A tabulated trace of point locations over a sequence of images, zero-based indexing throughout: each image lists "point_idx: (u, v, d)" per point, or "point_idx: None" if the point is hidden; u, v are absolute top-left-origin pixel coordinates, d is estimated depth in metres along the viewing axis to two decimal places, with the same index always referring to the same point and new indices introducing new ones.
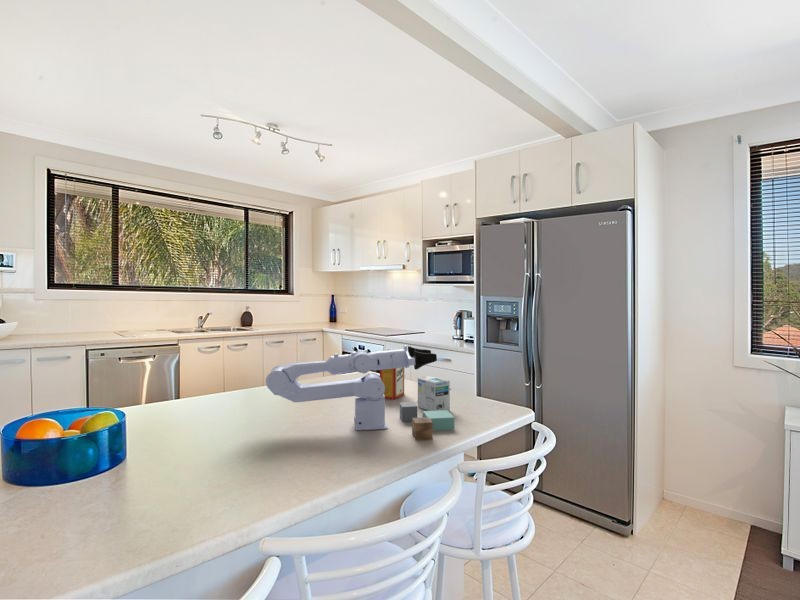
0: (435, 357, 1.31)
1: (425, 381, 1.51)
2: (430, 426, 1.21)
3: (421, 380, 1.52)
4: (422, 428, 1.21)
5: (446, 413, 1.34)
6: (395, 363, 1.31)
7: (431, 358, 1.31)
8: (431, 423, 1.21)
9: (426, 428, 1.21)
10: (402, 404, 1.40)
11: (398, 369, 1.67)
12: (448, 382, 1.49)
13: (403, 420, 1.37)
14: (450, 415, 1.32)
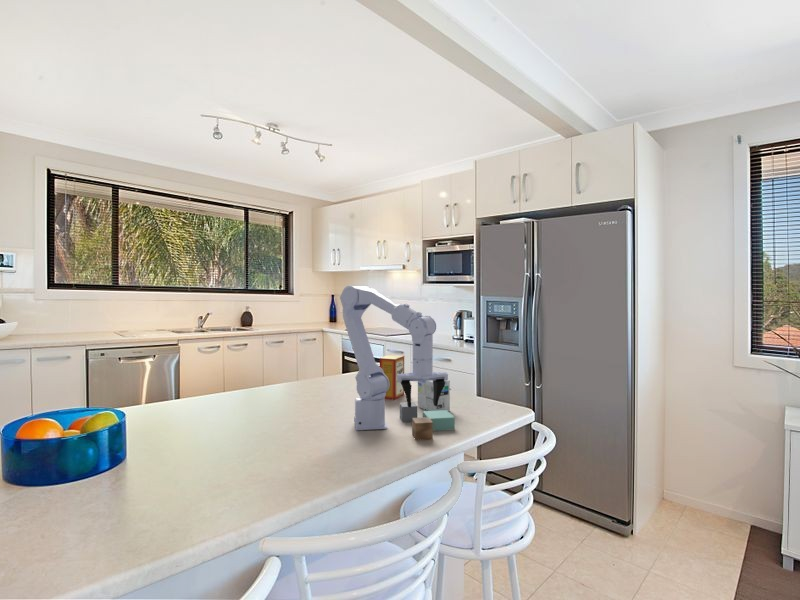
0: (408, 405, 1.22)
1: (425, 381, 1.51)
2: (430, 426, 1.21)
3: None
4: (422, 428, 1.21)
5: (445, 413, 1.34)
6: None
7: (407, 400, 1.22)
8: (431, 423, 1.21)
9: (427, 428, 1.21)
10: (402, 404, 1.40)
11: (398, 369, 1.67)
12: (448, 382, 1.49)
13: (403, 420, 1.37)
14: (450, 414, 1.32)
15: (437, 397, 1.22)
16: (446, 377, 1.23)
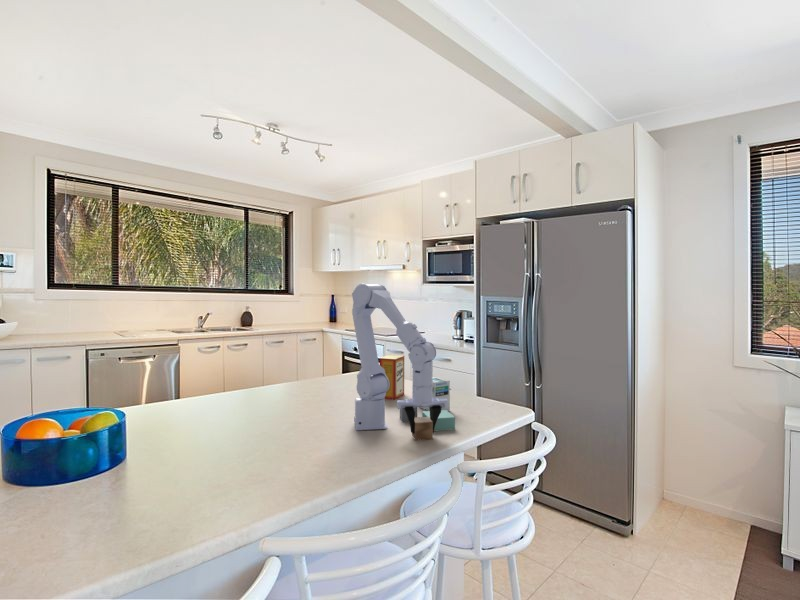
0: (411, 431, 1.23)
1: None
2: (430, 426, 1.21)
3: None
4: (422, 428, 1.21)
5: (445, 413, 1.34)
6: None
7: (410, 426, 1.23)
8: (431, 423, 1.21)
9: (426, 427, 1.21)
10: None
11: (398, 369, 1.67)
12: (448, 382, 1.49)
13: (403, 420, 1.37)
14: (450, 414, 1.32)
15: (433, 424, 1.22)
16: (446, 403, 1.23)
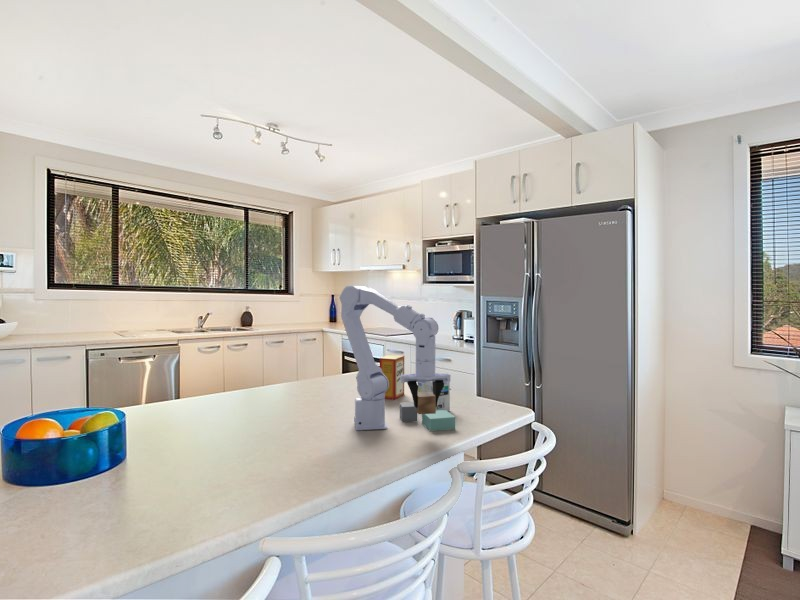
0: (414, 405, 1.24)
1: None
2: (433, 400, 1.22)
3: None
4: (425, 402, 1.22)
5: (445, 413, 1.34)
6: None
7: (414, 400, 1.24)
8: (434, 397, 1.22)
9: (429, 401, 1.22)
10: (402, 404, 1.40)
11: (398, 369, 1.67)
12: (448, 382, 1.49)
13: (403, 420, 1.37)
14: (450, 414, 1.33)
15: (436, 398, 1.24)
16: (449, 378, 1.24)
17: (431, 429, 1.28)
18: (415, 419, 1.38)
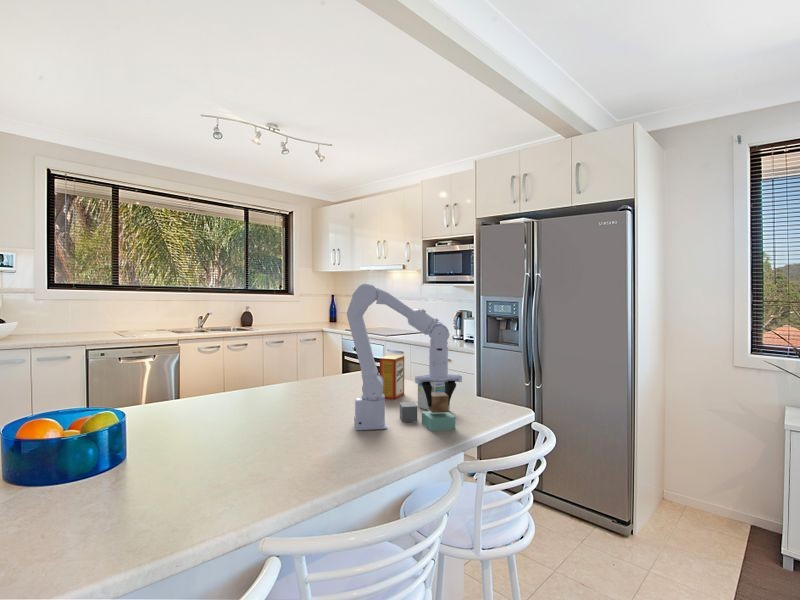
0: (428, 404, 1.32)
1: None
2: (446, 399, 1.31)
3: None
4: (439, 401, 1.30)
5: (445, 413, 1.34)
6: None
7: (427, 400, 1.33)
8: (447, 396, 1.31)
9: (443, 401, 1.30)
10: (402, 404, 1.40)
11: (398, 369, 1.67)
12: None
13: (403, 420, 1.37)
14: (450, 414, 1.33)
15: (449, 397, 1.32)
16: (460, 379, 1.33)
17: (431, 429, 1.28)
18: (415, 419, 1.38)
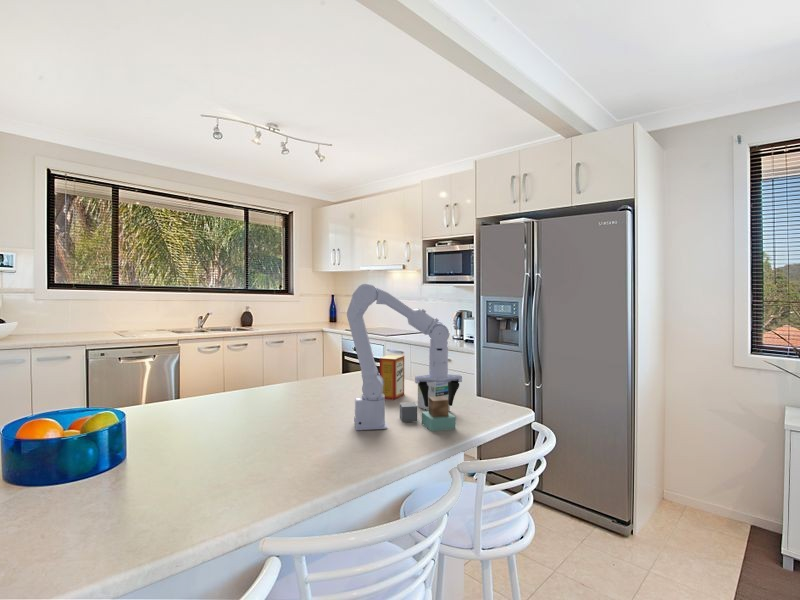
0: (425, 404, 1.32)
1: None
2: (446, 403, 1.31)
3: None
4: (439, 406, 1.30)
5: None
6: None
7: (424, 400, 1.32)
8: (447, 401, 1.31)
9: (443, 405, 1.31)
10: (402, 404, 1.40)
11: (398, 369, 1.67)
12: None
13: (403, 420, 1.37)
14: (450, 414, 1.33)
15: (452, 397, 1.32)
16: (460, 379, 1.33)
17: (432, 429, 1.28)
18: (415, 419, 1.38)
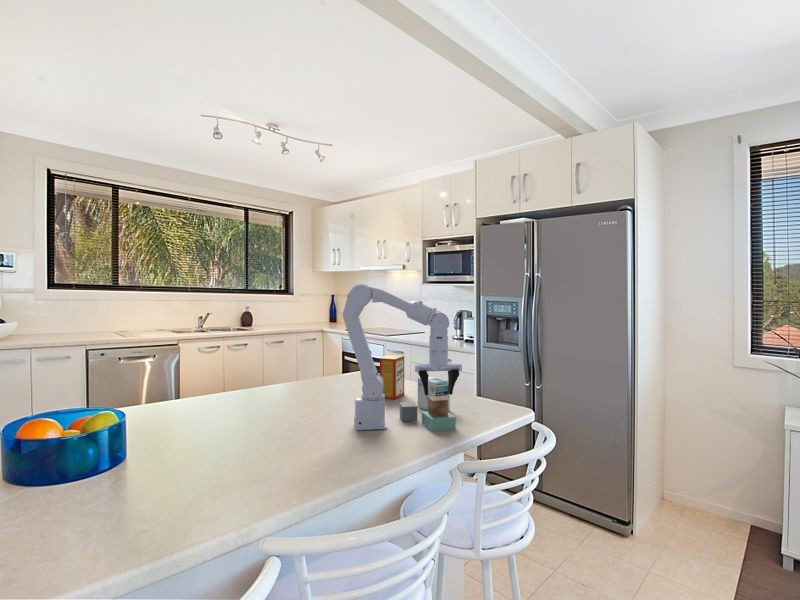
0: (425, 393, 1.32)
1: None
2: (446, 403, 1.31)
3: None
4: (438, 405, 1.30)
5: None
6: None
7: (424, 389, 1.32)
8: (446, 400, 1.31)
9: (442, 405, 1.31)
10: (402, 404, 1.40)
11: (398, 369, 1.67)
12: (448, 382, 1.49)
13: (403, 420, 1.37)
14: (450, 414, 1.33)
15: (452, 386, 1.32)
16: (460, 368, 1.33)
17: (432, 429, 1.28)
18: (415, 419, 1.38)
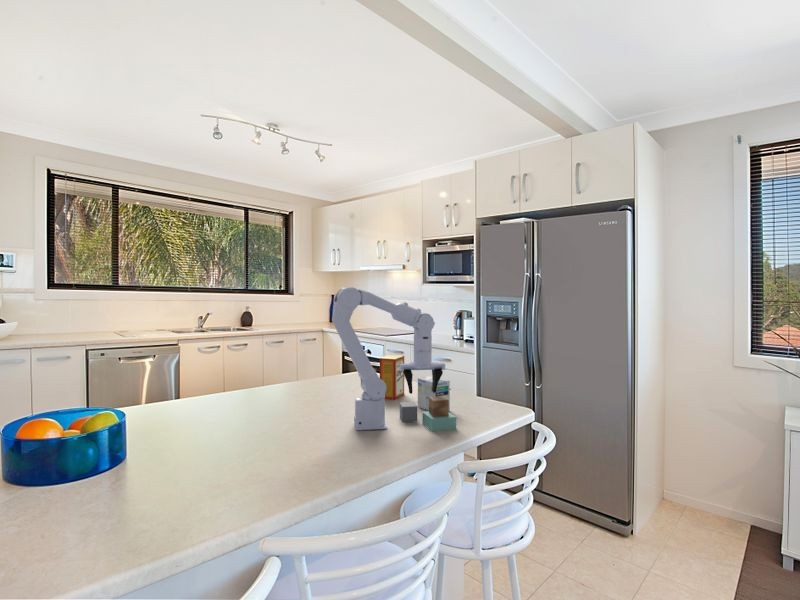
0: (409, 391, 1.36)
1: (425, 381, 1.51)
2: (446, 403, 1.31)
3: (421, 380, 1.52)
4: (439, 405, 1.31)
5: None
6: None
7: (409, 387, 1.37)
8: (447, 400, 1.31)
9: (443, 405, 1.31)
10: (402, 404, 1.40)
11: (398, 369, 1.67)
12: (448, 382, 1.49)
13: (403, 420, 1.37)
14: (451, 414, 1.33)
15: (435, 384, 1.36)
16: (444, 367, 1.37)
17: (433, 429, 1.28)
18: (415, 419, 1.38)
